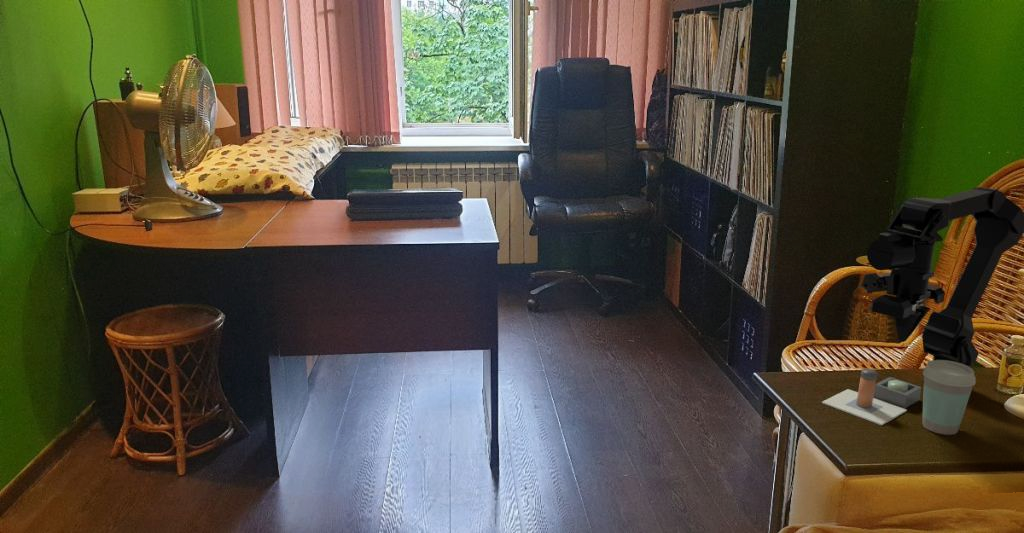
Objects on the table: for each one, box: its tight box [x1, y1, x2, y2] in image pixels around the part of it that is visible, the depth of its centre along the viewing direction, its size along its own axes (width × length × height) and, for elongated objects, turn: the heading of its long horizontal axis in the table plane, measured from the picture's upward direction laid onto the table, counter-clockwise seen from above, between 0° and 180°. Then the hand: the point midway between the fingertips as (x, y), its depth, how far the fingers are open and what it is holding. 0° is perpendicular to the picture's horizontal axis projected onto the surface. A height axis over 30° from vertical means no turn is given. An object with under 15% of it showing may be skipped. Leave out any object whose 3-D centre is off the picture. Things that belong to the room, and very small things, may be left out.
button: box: [888, 379, 908, 393], centre depth 154 cm, size 4×4×2 cm
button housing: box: [873, 376, 922, 409], centre depth 154 cm, size 6×6×3 cm
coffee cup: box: [921, 359, 977, 436], centre depth 141 cm, size 8×8×12 cm
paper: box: [821, 388, 908, 426], centre depth 151 cm, size 10×12×1 cm
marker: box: [856, 368, 878, 408], centre depth 150 cm, size 3×3×7 cm
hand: (901, 341), depth 152 cm, fingers closed
